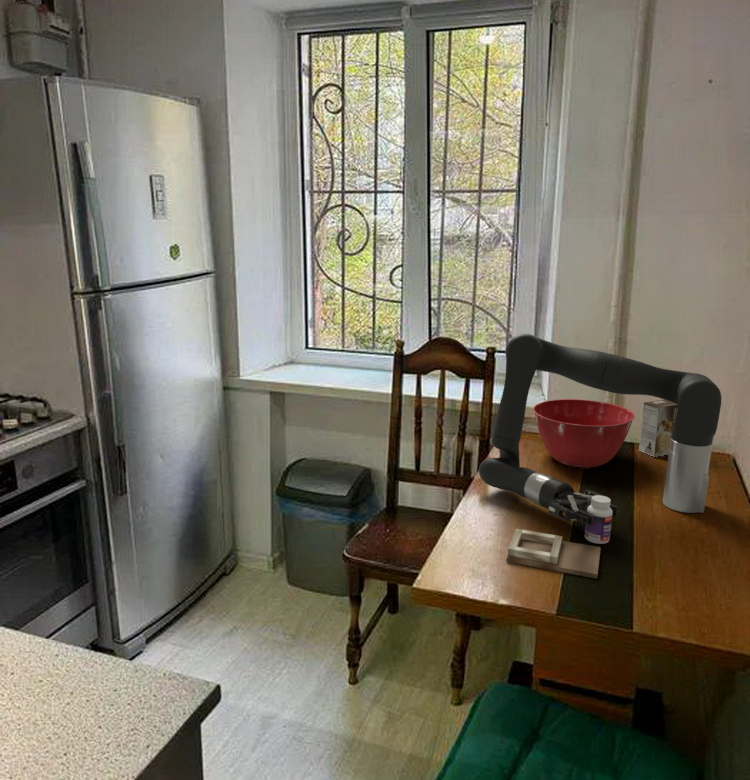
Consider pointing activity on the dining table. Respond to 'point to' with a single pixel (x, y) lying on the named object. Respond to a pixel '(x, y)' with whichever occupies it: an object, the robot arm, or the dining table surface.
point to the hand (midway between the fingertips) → (605, 516)
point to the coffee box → (657, 427)
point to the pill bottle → (599, 520)
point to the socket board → (553, 553)
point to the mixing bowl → (582, 430)
